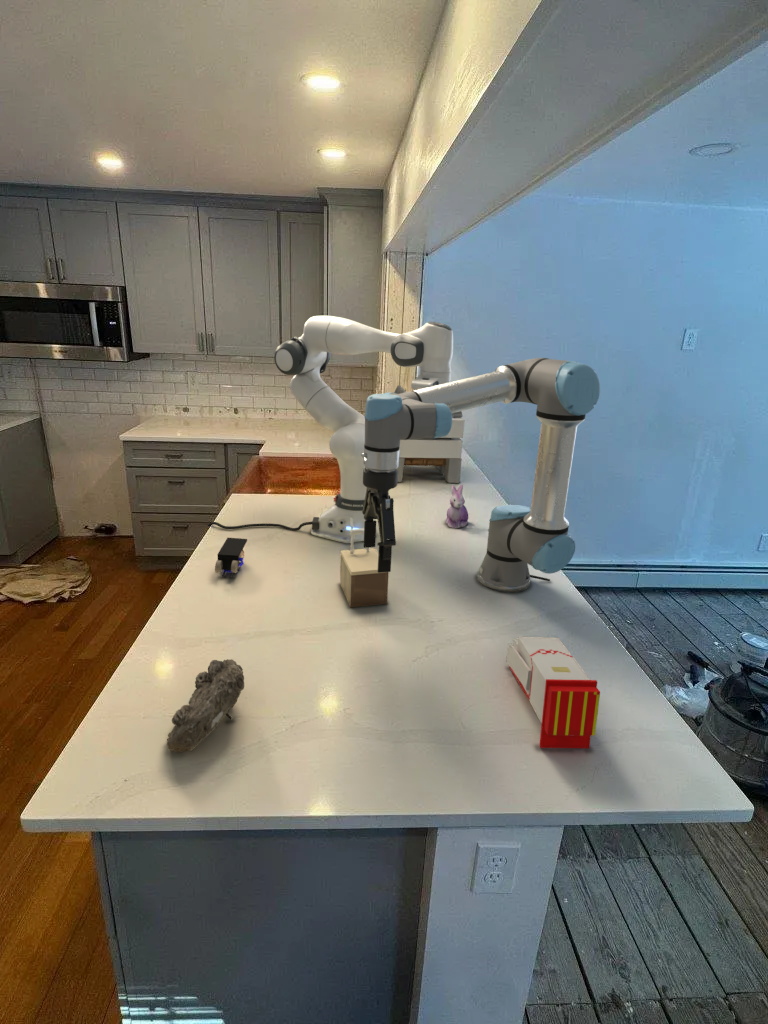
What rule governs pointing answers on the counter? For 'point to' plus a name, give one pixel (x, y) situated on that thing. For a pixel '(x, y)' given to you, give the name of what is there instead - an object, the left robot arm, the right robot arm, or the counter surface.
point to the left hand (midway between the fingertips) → (431, 428)
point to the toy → (555, 691)
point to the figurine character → (230, 556)
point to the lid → (360, 557)
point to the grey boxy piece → (435, 450)
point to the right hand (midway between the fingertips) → (376, 558)
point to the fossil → (206, 705)
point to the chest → (363, 587)
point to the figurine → (457, 509)
